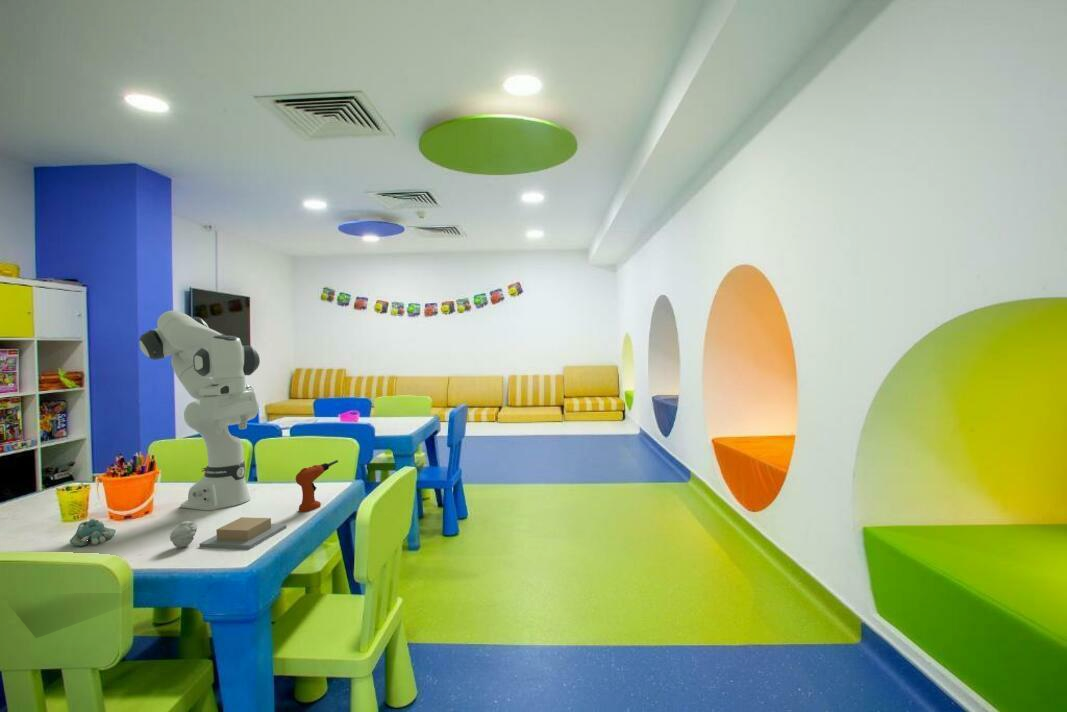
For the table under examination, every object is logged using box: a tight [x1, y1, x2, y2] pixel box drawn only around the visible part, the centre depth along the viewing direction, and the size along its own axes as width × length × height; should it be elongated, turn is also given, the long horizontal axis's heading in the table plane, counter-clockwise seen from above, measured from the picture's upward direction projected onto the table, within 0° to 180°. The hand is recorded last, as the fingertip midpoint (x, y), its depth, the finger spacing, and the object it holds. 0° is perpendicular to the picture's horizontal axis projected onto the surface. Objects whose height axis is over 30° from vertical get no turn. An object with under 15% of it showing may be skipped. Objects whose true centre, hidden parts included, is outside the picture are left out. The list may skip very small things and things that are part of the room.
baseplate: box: [199, 517, 287, 550], centre depth 151 cm, size 16×16×4 cm
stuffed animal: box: [69, 518, 117, 547], centre depth 151 cm, size 11×7×12 cm
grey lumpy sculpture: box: [169, 520, 198, 549], centre depth 145 cm, size 6×7×7 cm
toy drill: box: [295, 459, 339, 513], centre depth 180 cm, size 5×19×15 cm, turn 156°
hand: (232, 431), depth 157 cm, fingers open, 8 cm apart
